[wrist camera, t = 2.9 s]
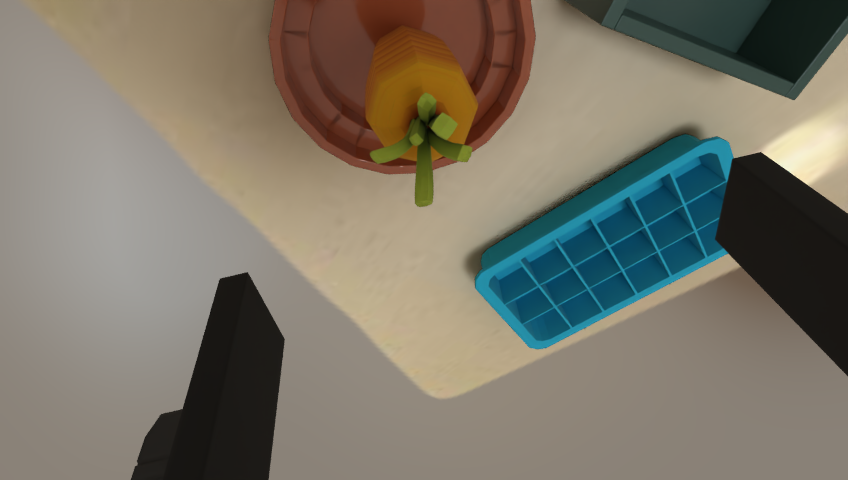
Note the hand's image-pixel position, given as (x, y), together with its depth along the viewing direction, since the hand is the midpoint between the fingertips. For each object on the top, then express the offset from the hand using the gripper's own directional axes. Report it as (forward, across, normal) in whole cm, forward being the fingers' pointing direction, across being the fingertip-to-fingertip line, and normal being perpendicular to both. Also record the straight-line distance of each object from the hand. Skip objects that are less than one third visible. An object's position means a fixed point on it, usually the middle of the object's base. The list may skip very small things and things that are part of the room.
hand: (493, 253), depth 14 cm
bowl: (+21, -1, 0) cm, 21 cm away
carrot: (+21, -1, 0) cm, 21 cm away
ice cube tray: (+21, +12, -19) cm, 31 cm away
